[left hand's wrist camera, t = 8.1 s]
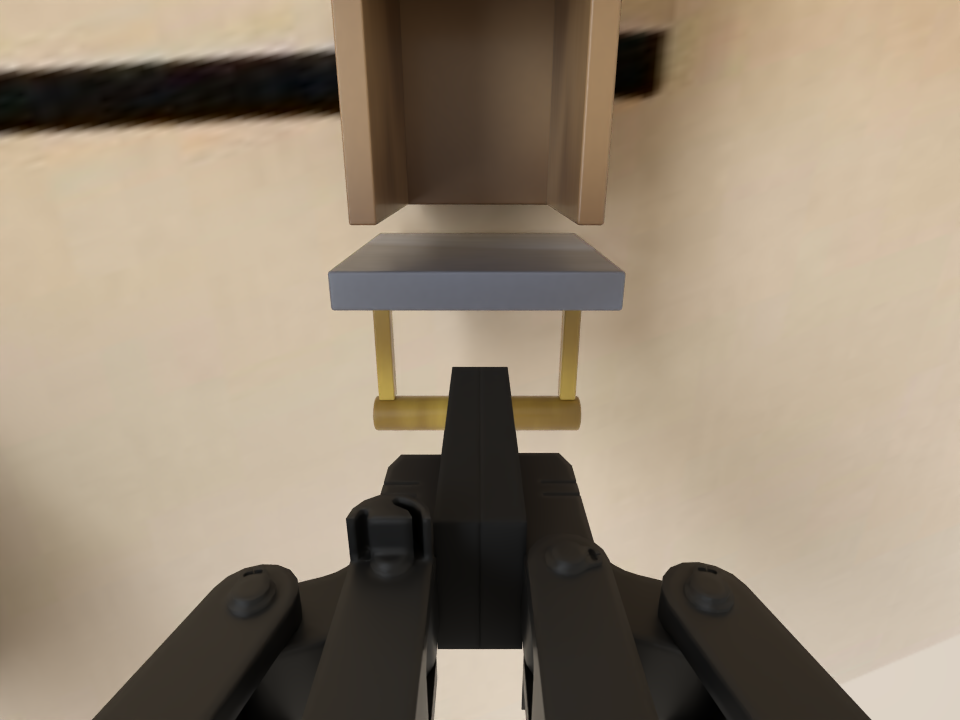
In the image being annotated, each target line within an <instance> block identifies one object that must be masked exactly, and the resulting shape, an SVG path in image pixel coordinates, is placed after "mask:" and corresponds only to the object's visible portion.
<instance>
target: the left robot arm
mask: <svg viewBox="0 0 960 720" xmlns="http://www.w3.org/2000/svg"><path fill="white" fill-rule="evenodd" d="M346 523H347V532H348V541H349V550H350V560H351V561H350V565H348V566H347V567H345V568H343V569H341V570H340V571H338V572H336V573H333V574H330V575H327V576H324V577H320V578H316V579H312V580H308V581H304V582H300V583H298V580H297V578H296V576H295V575H294V574H293V573H292V572H291V570H289V569H287V568H284V567H282V566H279V565H264V564H262V565H257V566H253V567H249V568H244V569H242V570H240V571H238V572H236V573H234V574H232V575H230V576H228V577H227V578H225V579H224V580H223V581H222V582H221V583H219V584H218V585H217V586H216V587H215V588H213V590H212V591H211V592H210V593H209V594H208V595H207V596H206V597H205V598H204V599H203V600H202V601H201V603H200V604H199V605H198V606H197V607H196V608H195V609H194V610H193V611H192V612H191V613H190V614H189V616H188V617H187V618H186V619H185V620H184V621H183V622H182V623H181V624H180V625H179V626H178V627H177V629H176V630H175V631H174V632H173V633H172V634H171V635H170V636H169V637H168V638H167V639H166V640H165V641H164V643H163V644H162V645H161V646H160V647H159V648H158V649H157V650H156V651H155V652H154V653H153V654H152V656H151V657H150V658H149V659H148V660H147V661H146V662H145V663H144V664H143V665H142V666H141V667H140V669H139V670H138V671H137V672H136V673H135V674H134V675H133V676H132V677H131V678H130V679H129V680H128V681H127V683H126V684H125V685H124V686H123V687H122V688H121V689H120V690H119V691H118V692H117V693H116V694H115V696H114V697H113V698H112V699H111V700H110V701H109V702H108V703H107V704H106V705H105V706H104V707H103V709H102V710H101V711H100V712H99V713H98V714H97V715H96V716H95V717H94V718H93V719H92V720H434V712H435V699H436V686H437V662H436V654H437V642H438V649H522V642H523V651H524V662H523V687H522V710H525V711H526V720H871V719H870V718H869V717H868V716H867V715H866V714H865V712H864V711H863V710H862V709H861V708H860V707H859V706H858V705H857V704H856V703H855V702H854V701H853V700H852V698H851V697H850V696H849V695H848V694H847V693H846V692H845V691H844V690H843V689H842V688H841V687H840V686H839V685H838V683H837V682H836V681H835V680H834V679H833V678H832V677H831V676H830V675H829V674H828V673H827V672H826V671H825V669H824V668H823V667H822V666H821V665H820V664H819V663H818V662H817V661H816V660H815V659H814V658H813V657H812V656H811V654H810V653H809V652H808V651H807V650H806V649H805V648H804V647H803V646H802V645H801V644H800V643H799V642H798V640H797V639H796V638H795V637H794V636H793V635H792V634H791V633H790V632H789V631H788V630H787V629H786V628H785V627H784V625H783V624H782V623H781V622H780V621H779V620H778V619H777V618H776V617H775V616H774V615H773V614H772V613H771V611H770V610H769V609H768V608H767V607H766V606H765V605H764V604H763V603H762V602H761V601H760V600H759V599H758V597H757V596H756V595H755V594H754V593H753V592H752V591H751V590H750V589H749V588H748V587H747V586H746V585H745V584H744V583H743V582H741V581H740V580H739V579H738V578H737V577H735V576H734V575H733V574H731V573H729V572H727V571H725V570H723V569H721V568H718V567H716V566H713V565H708V564H704V563H700V562H690V563H681V564H678V565H676V566H673V567H671V568H670V569H669V570H668V571H667V572H666V573H665V575H664V576H663V580H662V581H661V580H657V579H653V578H649V577H645V576H640V575H637V574H634V573H631V572H628V571H625V570H623V569H621V568H619V567H617V566H615V565H613V564H612V563H611V562H610V561H609V559H608V557H607V555H606V554H605V552H604V550H603V549H602V548H601V547H599V546H598V545H597V544H595V543H594V541H593V537H592V534H591V530H590V527H589V523H588V520H587V517H586V513H585V510H584V506H583V503H582V499H581V496H580V492H579V489H578V485H577V483H576V479H575V475H574V472H573V468H572V465H570V464H569V463H568V462H567V461H566V460H565V459H564V458H563V457H562V456H561V455H560V454H559V453H518V446H517V438H516V430H515V422H514V414H513V406H512V399H511V391H510V383H509V375H508V367H452V375H451V383H450V391H449V399H448V406H447V414H446V422H445V430H444V438H443V446H442V454H441V455H400V456H399V457H398V458H397V459H396V460H395V461H394V462H393V463H392V464H391V465H390V466H389V467H388V470H387V474H386V477H385V481H384V485H383V488H382V491H381V495H378V496H376V497H373V498H370V499H367V500H364V501H363V502H361V503H360V504H359V505H357V506H356V507H354V508H353V509H352V511H351V512H350V514H349V515H348V516H347V518H346Z"/></svg>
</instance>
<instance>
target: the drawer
mask: <svg viewBox="0 0 960 720" xmlns="http://www.w3.org/2000/svg"><path fill="white" fill-rule="evenodd" d="M331 4H332V16H333V29H334V41H335V54H336V66H337V78H338V91H339V103H340V115H341V128H342V140H343V152H344V165H345V177H346V189H347V202H348V214H349V224H350V225H376V224H378V223H379V222H381V221H382V220H384V219H386V218H387V217H389V216H390V215H392V214H394V213H395V212H397V211H398V210H400V209H401V208H403V207H405V206H406V205H408V204H455V205H549V206H551V207H552V208H554V209H555V210H557V211H558V212H560V213H561V214H563V215H564V216H566V217H567V218H569V219H570V220H572V221H573V222H575V223H576V224H578V225H602V224H603V223H604V216H605V204H606V191H607V178H608V165H609V153H610V140H611V127H612V115H613V102H614V89H615V77H616V64H617V51H618V38H619V26H620V13H621V0H331ZM328 279H329V289H330V299H331V308H332V310H373V318H374V333H375V347H376V361H377V376H378V390H379V396H377V397H376V399H375V402H374V409H373V420H374V426H375V429H376V430H445V422H446V414H447V406H448V399H449V396H396V394H397V391H396V374H395V356H394V339H393V322H392V310H563V313H562V330H561V348H560V366H559V384H558V395H559V396H511V399H512V406H513V414H514V422H515V430H578V429H579V427H580V423H581V405H580V400H579V398H578V397H577V396H575V395H576V380H577V366H578V351H579V336H580V322H581V310H609V311H619V310H621V309H622V305H623V294H624V284H625V272H624V271H623V270H621V269H620V268H619V267H617V266H616V265H615V264H614V263H612V262H611V261H610V260H608V259H607V258H606V257H605V256H603V255H602V254H601V253H599V252H598V251H597V250H596V249H594V248H593V247H592V246H590V245H589V244H588V243H587V242H585V241H584V240H583V239H581V238H580V237H579V236H577V235H576V234H574V233H380V234H379V235H377V236H376V237H375V238H373V239H372V240H371V241H369V242H368V243H367V244H365V245H364V246H363V247H361V248H360V249H359V250H357V251H356V252H355V253H353V254H352V255H351V256H349V257H348V258H347V259H345V260H344V261H343V262H341V263H340V264H339V265H337V266H336V267H335V268H333V269H332V270H331V271H329V273H328Z"/></svg>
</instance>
